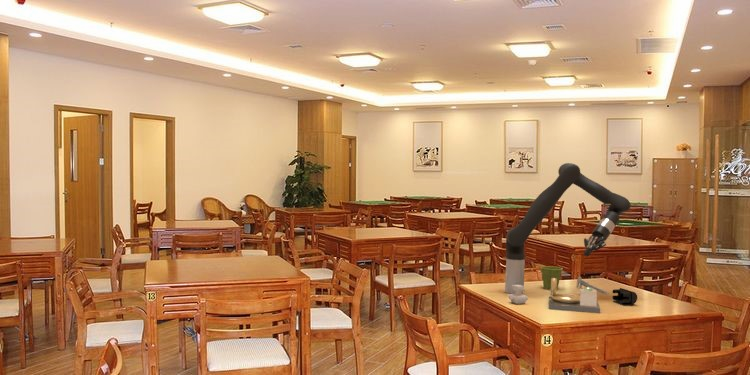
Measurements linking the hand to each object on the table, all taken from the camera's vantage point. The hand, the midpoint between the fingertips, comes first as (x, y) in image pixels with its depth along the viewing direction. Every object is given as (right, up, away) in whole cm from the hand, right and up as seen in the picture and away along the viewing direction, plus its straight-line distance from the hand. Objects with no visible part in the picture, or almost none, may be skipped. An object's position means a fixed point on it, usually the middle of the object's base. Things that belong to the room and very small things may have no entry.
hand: (585, 255), depth 313 cm
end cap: (+16, -23, -7) cm, 29 cm away
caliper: (+12, -22, +25) cm, 35 cm away
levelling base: (-11, -22, -17) cm, 30 cm away
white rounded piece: (-36, -22, -13) cm, 44 cm away
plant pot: (-10, -21, +28) cm, 36 cm away
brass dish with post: (-14, -20, -14) cm, 27 cm away
